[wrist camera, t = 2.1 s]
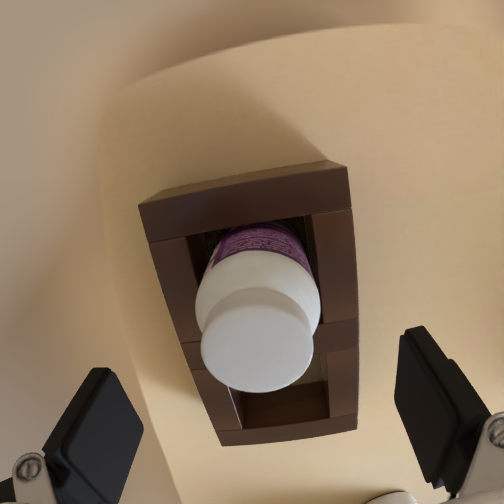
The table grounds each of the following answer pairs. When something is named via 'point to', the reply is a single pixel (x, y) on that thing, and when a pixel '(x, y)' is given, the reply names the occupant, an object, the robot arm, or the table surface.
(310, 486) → the table surface
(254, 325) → the pill bottle
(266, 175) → the rack
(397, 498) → the cup
